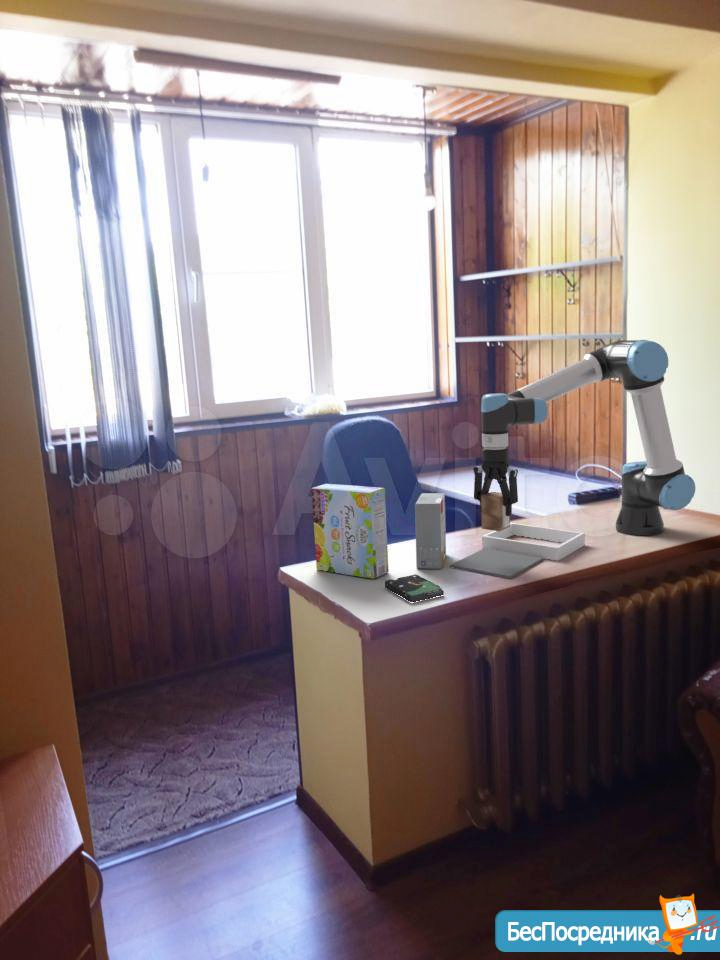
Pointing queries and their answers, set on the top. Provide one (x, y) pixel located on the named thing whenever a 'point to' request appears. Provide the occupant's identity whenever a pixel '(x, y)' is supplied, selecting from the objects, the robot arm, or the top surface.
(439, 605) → the top surface
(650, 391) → the robot arm
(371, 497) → the snack box
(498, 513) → the walnut block
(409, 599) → the disk drive
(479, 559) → the mat
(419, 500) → the hard drive box
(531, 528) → the bin
